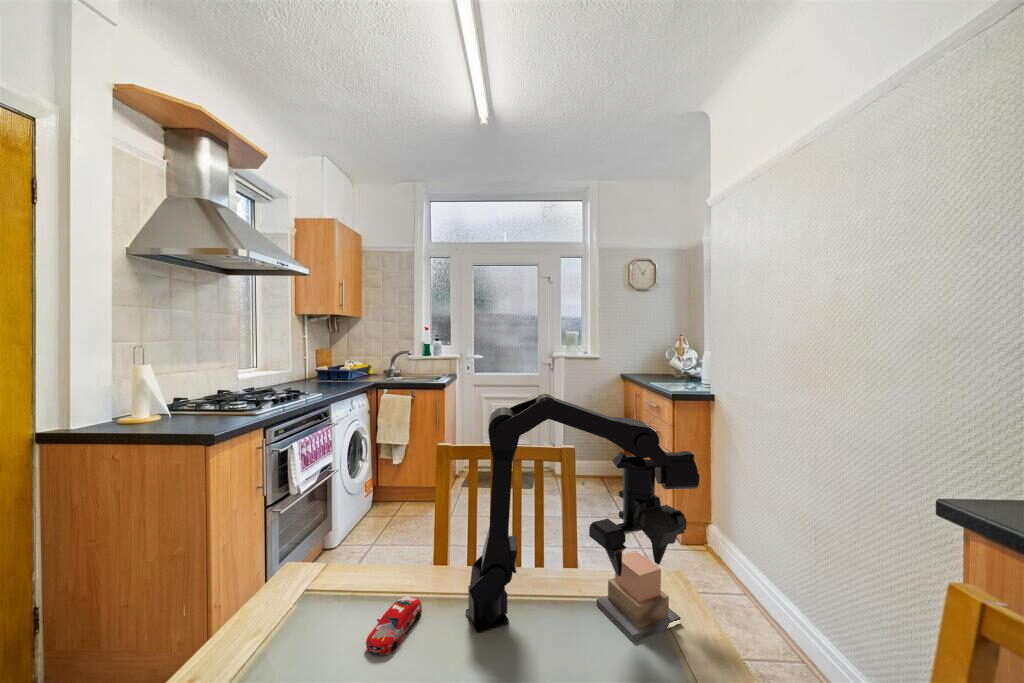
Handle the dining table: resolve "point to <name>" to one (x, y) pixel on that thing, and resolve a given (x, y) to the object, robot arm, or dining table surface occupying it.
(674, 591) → the dining table surface
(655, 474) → the robot arm
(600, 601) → the tower base
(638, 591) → the terracotta brick
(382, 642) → the race car
